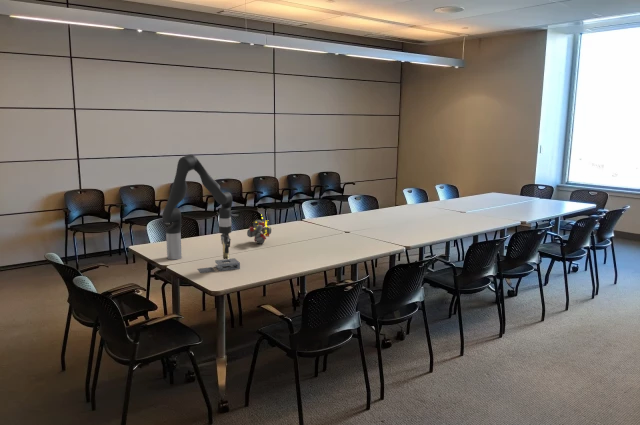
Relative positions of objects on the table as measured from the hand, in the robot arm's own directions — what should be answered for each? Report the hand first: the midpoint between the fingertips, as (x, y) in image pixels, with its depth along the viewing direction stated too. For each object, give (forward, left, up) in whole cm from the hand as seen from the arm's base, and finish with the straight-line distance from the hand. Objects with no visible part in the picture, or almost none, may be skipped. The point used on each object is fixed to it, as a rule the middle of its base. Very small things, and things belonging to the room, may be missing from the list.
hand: (225, 252), depth 308 cm
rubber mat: (0, -13, -10) cm, 16 cm away
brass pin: (0, 0, -4) cm, 4 cm away
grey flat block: (0, 0, -10) cm, 10 cm away
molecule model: (-53, +40, -10) cm, 68 cm away
